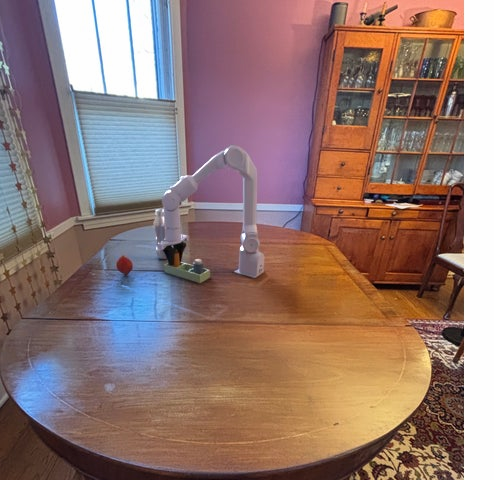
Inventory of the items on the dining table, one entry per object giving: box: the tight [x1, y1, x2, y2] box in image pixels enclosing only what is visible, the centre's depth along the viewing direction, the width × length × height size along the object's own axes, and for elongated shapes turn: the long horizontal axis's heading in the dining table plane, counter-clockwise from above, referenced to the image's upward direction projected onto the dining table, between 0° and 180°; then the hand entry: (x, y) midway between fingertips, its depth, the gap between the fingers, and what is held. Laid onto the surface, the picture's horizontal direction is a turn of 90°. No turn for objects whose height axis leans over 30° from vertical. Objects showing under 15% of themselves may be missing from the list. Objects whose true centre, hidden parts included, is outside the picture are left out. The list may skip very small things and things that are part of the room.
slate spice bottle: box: [192, 258, 204, 275], centre depth 109 cm, size 4×4×7 cm
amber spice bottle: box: [170, 249, 180, 267], centre depth 113 cm, size 4×4×7 cm
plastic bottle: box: [153, 208, 167, 260], centre depth 124 cm, size 6×7×20 cm
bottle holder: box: [163, 261, 211, 284], centre depth 112 cm, size 17×6×4 cm, turn 57°
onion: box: [115, 254, 134, 276], centre depth 111 cm, size 6×6×8 cm
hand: (175, 263), depth 114 cm, fingers closed on amber spice bottle, 3 cm apart
